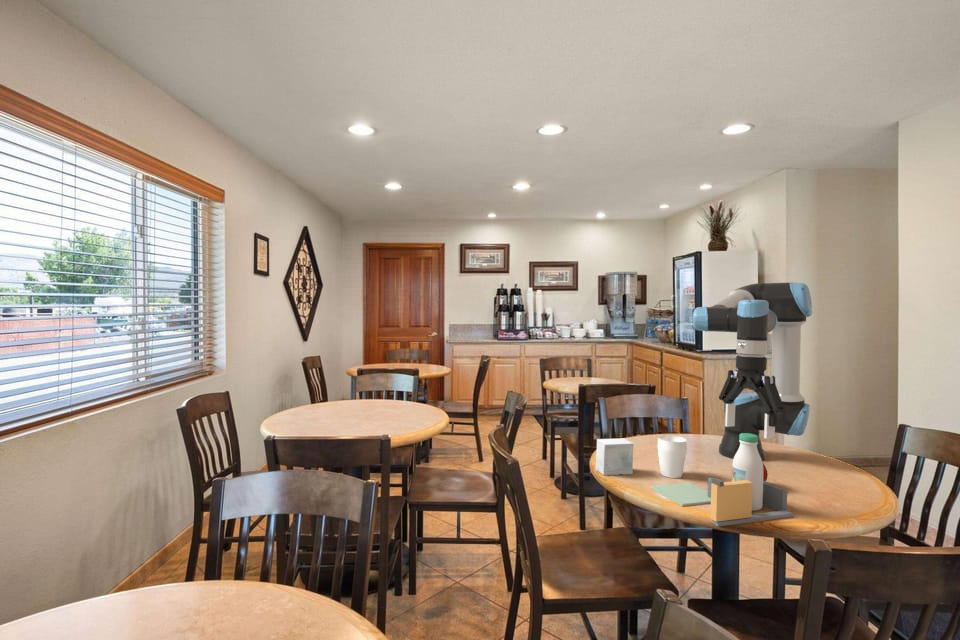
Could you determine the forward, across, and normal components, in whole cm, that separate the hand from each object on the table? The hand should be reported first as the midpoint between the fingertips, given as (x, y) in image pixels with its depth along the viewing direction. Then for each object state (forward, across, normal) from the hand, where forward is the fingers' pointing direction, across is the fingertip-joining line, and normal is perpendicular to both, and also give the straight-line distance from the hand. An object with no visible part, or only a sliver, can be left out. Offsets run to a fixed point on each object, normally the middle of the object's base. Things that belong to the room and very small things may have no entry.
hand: (748, 432), depth 137 cm
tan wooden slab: (+20, +8, -13) cm, 25 cm away
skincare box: (+21, -34, -21) cm, 45 cm away
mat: (+21, -11, -11) cm, 26 cm away
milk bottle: (+21, 0, 0) cm, 21 cm away
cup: (+21, -27, -4) cm, 35 cm away
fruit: (+21, -13, +14) cm, 29 cm away
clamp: (+21, +1, -5) cm, 21 cm away
